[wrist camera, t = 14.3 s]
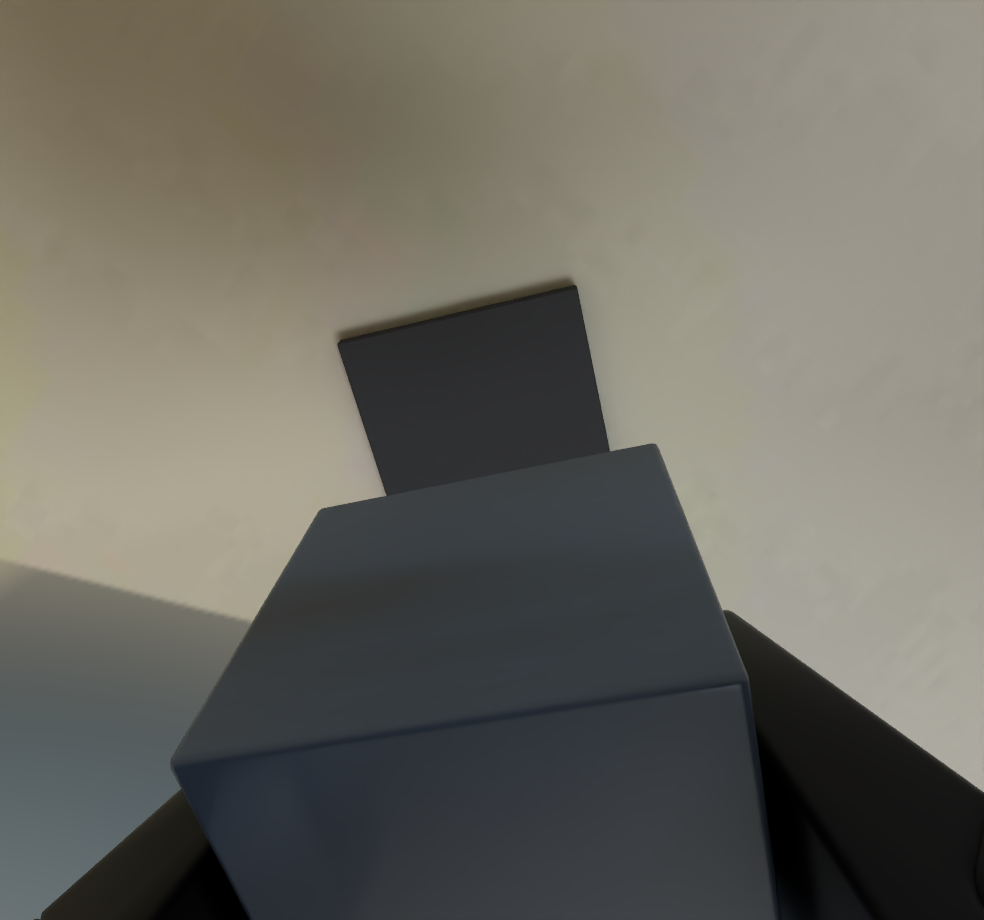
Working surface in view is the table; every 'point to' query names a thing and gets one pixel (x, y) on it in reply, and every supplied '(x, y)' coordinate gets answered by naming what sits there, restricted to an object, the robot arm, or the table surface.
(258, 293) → the table surface
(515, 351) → the mat
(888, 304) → the table surface
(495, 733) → the block
